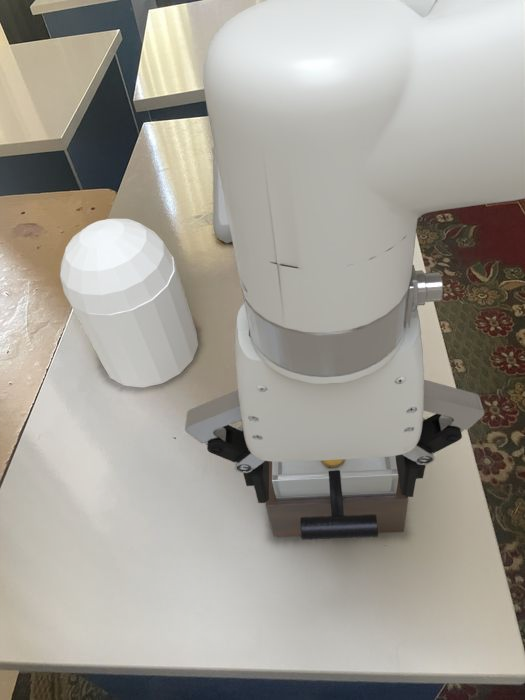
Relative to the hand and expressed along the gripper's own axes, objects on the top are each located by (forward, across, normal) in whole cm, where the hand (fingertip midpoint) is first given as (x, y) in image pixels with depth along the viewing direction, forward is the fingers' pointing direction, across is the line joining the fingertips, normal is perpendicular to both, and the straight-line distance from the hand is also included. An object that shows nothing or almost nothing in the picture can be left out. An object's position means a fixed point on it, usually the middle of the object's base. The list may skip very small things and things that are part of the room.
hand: (333, 480), depth 39 cm
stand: (+20, 0, -11) cm, 23 cm away
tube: (+20, +14, -65) cm, 69 cm away
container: (+20, +23, -32) cm, 44 cm away
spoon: (+12, 0, -11) cm, 17 cm away
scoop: (+13, 0, -9) cm, 16 cm away
